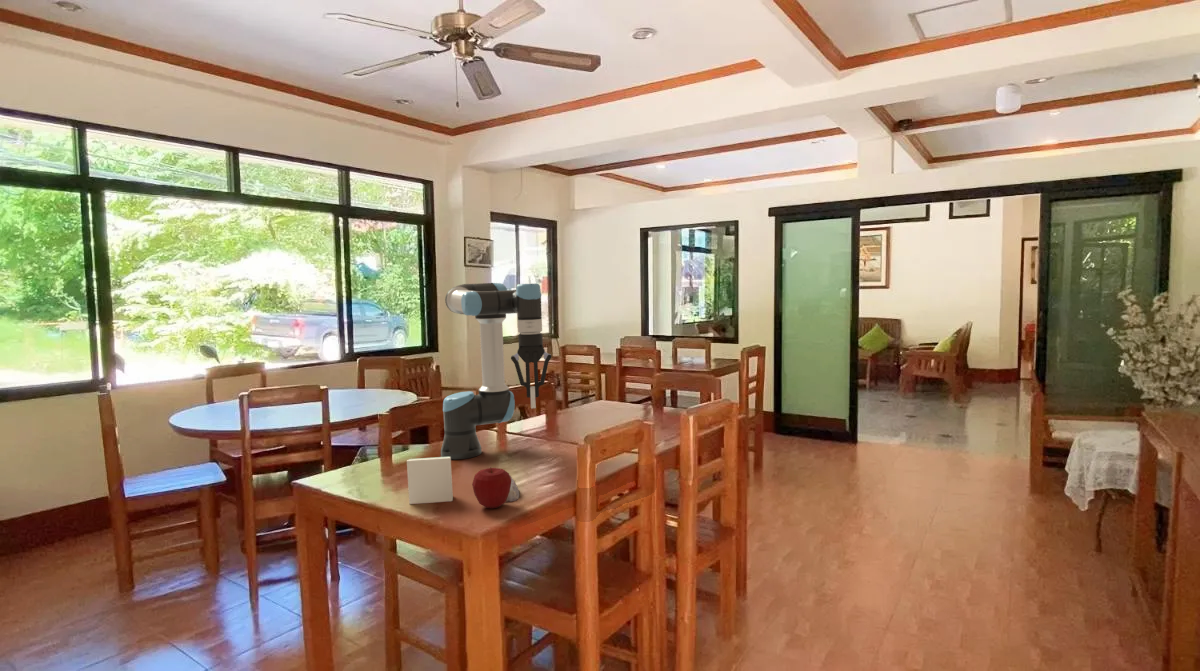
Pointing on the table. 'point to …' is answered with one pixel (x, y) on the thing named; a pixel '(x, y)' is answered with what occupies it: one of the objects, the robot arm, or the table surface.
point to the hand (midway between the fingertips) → (533, 407)
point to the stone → (513, 492)
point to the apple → (491, 487)
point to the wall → (429, 480)
